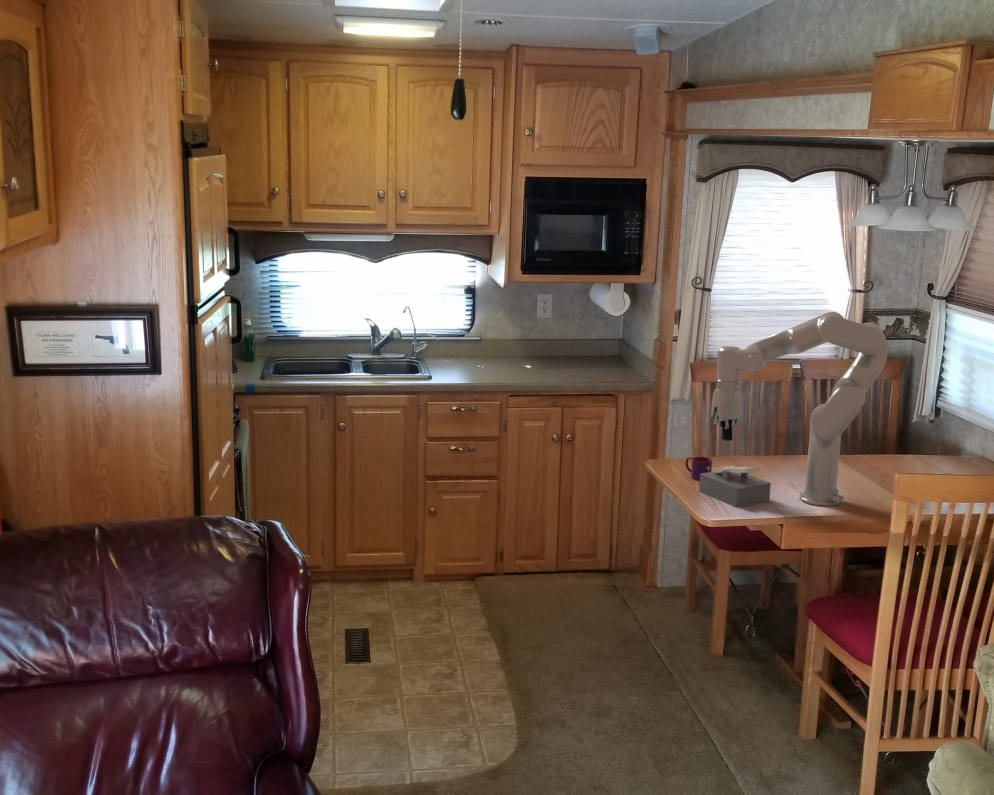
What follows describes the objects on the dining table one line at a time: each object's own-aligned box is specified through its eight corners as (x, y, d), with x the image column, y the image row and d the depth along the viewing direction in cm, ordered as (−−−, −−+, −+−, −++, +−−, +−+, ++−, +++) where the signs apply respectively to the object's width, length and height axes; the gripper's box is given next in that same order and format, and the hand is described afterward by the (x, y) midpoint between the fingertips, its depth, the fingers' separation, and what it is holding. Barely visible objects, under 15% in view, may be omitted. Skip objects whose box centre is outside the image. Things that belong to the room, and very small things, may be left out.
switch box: (769, 500, 329) (771, 473, 327) (735, 507, 323) (737, 479, 321) (731, 485, 345) (733, 459, 343) (699, 491, 338) (700, 465, 336)
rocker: (759, 471, 326) (759, 465, 326) (745, 473, 323) (744, 468, 323) (726, 470, 340) (725, 465, 340) (712, 472, 337) (711, 467, 337)
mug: (701, 482, 348) (702, 463, 347) (680, 474, 356) (681, 456, 355) (714, 479, 352) (716, 460, 350) (694, 472, 360) (695, 453, 358)
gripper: (738, 380, 338) (736, 434, 342) (702, 385, 331) (701, 440, 335) (754, 384, 331) (752, 439, 335) (718, 389, 324) (716, 445, 328)
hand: (726, 439), depth 335 cm, fingers closed
